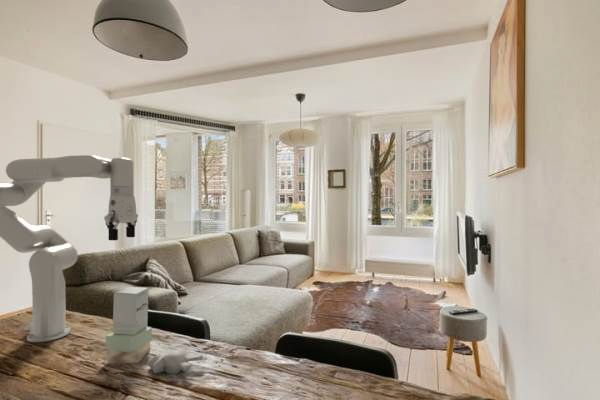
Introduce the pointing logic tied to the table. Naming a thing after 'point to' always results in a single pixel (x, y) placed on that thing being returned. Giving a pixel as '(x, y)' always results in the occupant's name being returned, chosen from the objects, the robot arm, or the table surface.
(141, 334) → the block top
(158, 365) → the bunny figurine
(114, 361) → the block bottom
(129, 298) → the supplement box
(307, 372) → the table surface
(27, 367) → the table surface
